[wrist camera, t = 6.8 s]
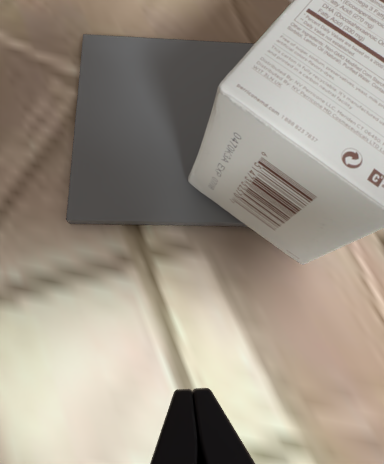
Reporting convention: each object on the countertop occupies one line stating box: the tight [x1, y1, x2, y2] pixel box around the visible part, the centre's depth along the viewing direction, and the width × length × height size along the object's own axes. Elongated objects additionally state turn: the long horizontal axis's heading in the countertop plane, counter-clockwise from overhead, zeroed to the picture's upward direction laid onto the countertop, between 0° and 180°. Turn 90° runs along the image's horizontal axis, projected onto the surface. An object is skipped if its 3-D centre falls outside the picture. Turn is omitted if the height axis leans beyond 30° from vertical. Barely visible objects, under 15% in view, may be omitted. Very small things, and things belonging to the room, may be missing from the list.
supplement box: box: [188, 0, 384, 265], centre depth 17 cm, size 7×7×13 cm
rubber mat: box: [66, 34, 254, 226], centre depth 20 cm, size 11×10×1 cm
